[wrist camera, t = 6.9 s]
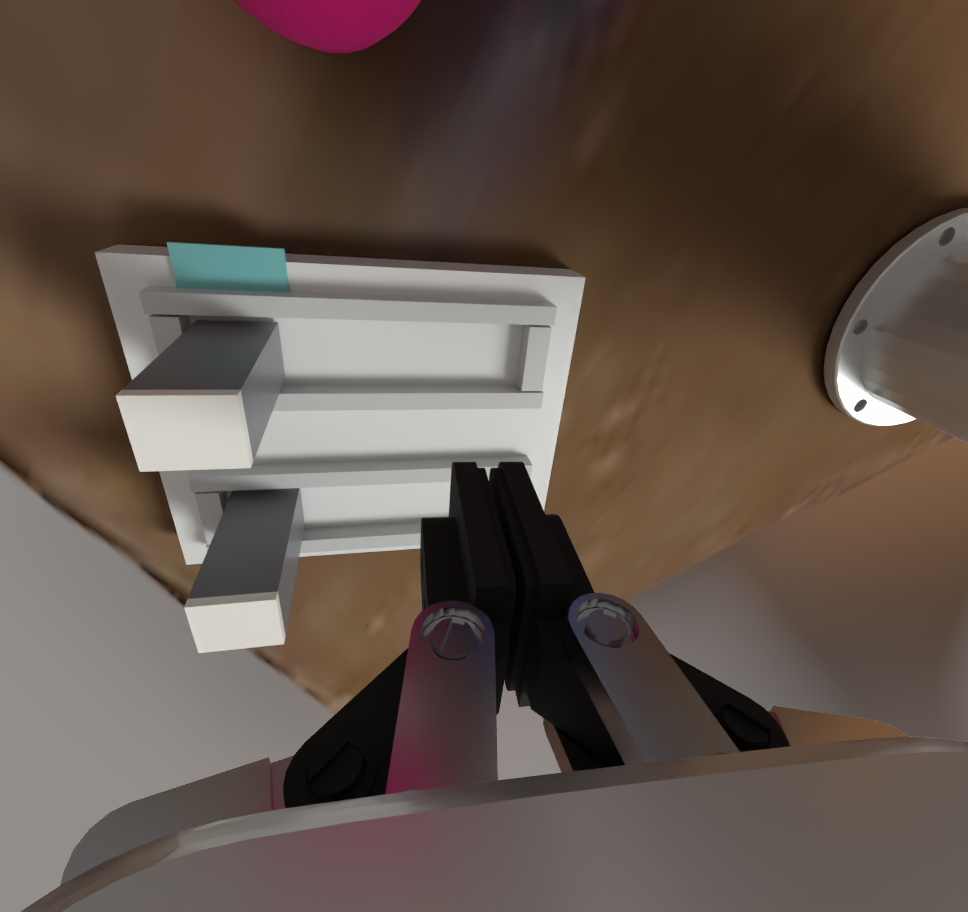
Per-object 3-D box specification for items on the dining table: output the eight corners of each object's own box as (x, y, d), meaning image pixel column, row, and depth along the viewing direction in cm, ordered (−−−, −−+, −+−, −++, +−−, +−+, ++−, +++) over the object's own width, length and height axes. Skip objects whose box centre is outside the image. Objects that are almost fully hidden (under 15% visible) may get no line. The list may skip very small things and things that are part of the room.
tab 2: (299, 485, 24) (276, 599, 18) (304, 524, 25) (283, 643, 19) (233, 488, 23) (184, 607, 17) (241, 528, 24) (198, 653, 18)
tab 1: (278, 322, 20) (237, 395, 14) (285, 377, 21) (251, 468, 15) (196, 320, 19) (115, 395, 13) (208, 377, 20) (139, 471, 14)
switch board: (571, 257, 23) (596, 270, 21) (528, 525, 31) (542, 557, 29) (114, 230, 19) (76, 240, 17) (199, 546, 27) (182, 585, 25)
